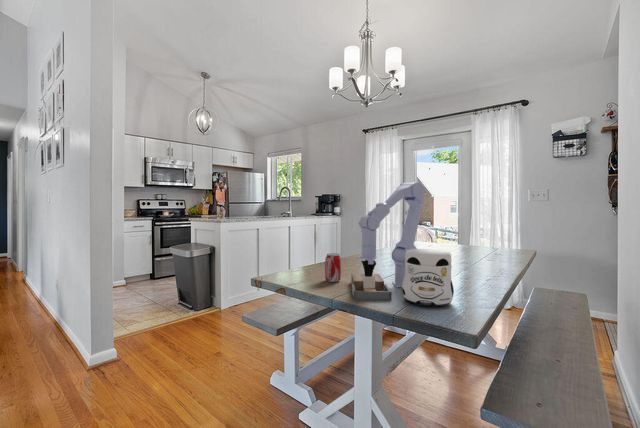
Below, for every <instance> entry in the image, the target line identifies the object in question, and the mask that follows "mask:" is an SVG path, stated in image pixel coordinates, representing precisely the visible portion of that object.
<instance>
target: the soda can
mask: <svg viewBox="0 0 640 428" xmlns="http://www.w3.org/2000/svg"><path fill="white" fill-rule="evenodd" d="M324 262H325V263H324V267H325V269H324V278H325V280H326V281H327V282H329V283H338V282H340V281H341V278H342V277H341V276H342V258H341V255H340V253H333V252H332V253H331V252H330V253H326V257H325V261H324Z"/></svg>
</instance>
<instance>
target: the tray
mask: <svg viewBox="0 0 640 428" xmlns="http://www.w3.org/2000/svg"><path fill="white" fill-rule="evenodd" d="M351 293H352V298H353V300H355V301H358V300H359V301H360V300H361V301H362V300H363V301H366V300H367V301H377V300H378V301H392V296H393V294H392V293H393V292H392V291H391V289H390V287H389V285H387V284H385V283H384V291H356V289H355V286H354V284H352V283H351Z"/></svg>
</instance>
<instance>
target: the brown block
mask: <svg viewBox="0 0 640 428" xmlns="http://www.w3.org/2000/svg"><path fill="white" fill-rule="evenodd" d="M363 277H365V273H351V277H350V278H351V281H350V283H351V285H352V284H354V286H355V289H356V291H363ZM372 277H375V289H376V291H384V284H385V280H384V279H383V278H382V277H381V274H379V273H373V274H372Z"/></svg>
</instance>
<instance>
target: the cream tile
mask: <svg viewBox="0 0 640 428" xmlns="http://www.w3.org/2000/svg"><path fill="white" fill-rule="evenodd" d="M363 288H375V277H363Z"/></svg>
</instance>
